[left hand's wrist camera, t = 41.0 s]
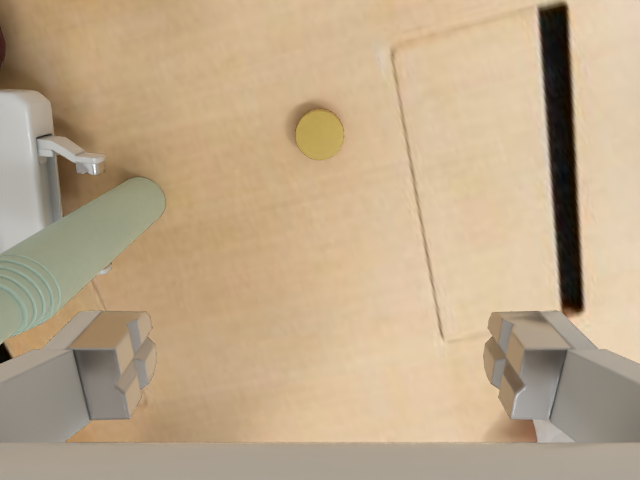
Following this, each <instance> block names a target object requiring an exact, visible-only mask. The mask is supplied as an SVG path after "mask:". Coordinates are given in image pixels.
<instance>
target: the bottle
mask: <svg viewBox="0 0 640 480" xmlns="http://www.w3.org/2000/svg"><path fill="white" fill-rule="evenodd" d="M165 205H166V201H165V196H164V194H163V192H162V190H161V188H160V187H159V186H158V185H157V184H156V183H154V182H153V181H151V180H149V179H147V178H143V177H134V178H131V179H128V180H127V181H125V182H123V183H121V184H120V185H118V186H116V187H115V188H113V189H111V190H109V191H108V192H106V193H104V194H102V195H101V196H99V197H97V198H96V199H94V200H92V201H90V202H89V203H87V204H85V205H84V206H82V207H80V208H78V209H77V210H75V211H73V212H71V213H70V214H68V215H66V216H65V217H63V218H61V219H59V220H58V221H56V222H54V223H53V224H51V225H49V226H47V227H46V228H44V229H42V230H40V231H39V232H37V233H35V234H34V235H32V236H30V237H28V238H27V239H25V240H23V241H22V242H20V243H18V244H16V245H15V246H13V247H11V248H9V249H8V250H6V251H4V252H3V253H1V254H0V344H2V343H3V342H4V341H5V340H6V339H7V338H9V337H13V336H15V335H17V334H19V333H22V332H24V331H26V330H28V329H31V328H33V327H35V326H38V325H40V324H42V323H43V322H45V321H46V320H47V319H49V318H51V317H52V316H53V315H54V314H56V313H57V312H58V311H59V310H60V309H61V308H62V307H63V306H64V305H65V304H66V303H67V302H68V301H70V300H71V299H72V298H73V297H74V296H75V295H76V294H77V293H78V292H79V291H80V290H81V289H83V288H84V287H85V286H86V285H87V284H88V283H89V282H90V281H91V280H92V279H93V278H94V277H95V276H97V275H98V274H99V273H100V272H101V271H102V270H103V269H104V268H105V267H106V266H107V265H108V264H109V263H111V262H112V261H113V260H114V259H115V258H116V257H117V256H118V255H119V254H120V253H121V252H122V251H123V250H125V249H126V248H127V247H128V246H129V245H130V244H131V243H132V242H133V241H134V240H135V239H136V238H137V237H139V236H140V235H141V234H142V233H143V232H144V231H145V230H146V229H147V228H148V227H149V226H150V225H152V224H153V223H154V222H155V221H156V220H157V219H158V218H159V217H160V216H161V215H162V214H163V212H164V210H165Z"/></svg>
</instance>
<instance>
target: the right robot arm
mask: <svg viewBox="0 0 640 480" xmlns="http://www.w3.org/2000/svg"><path fill="white" fill-rule="evenodd" d="M59 154H60V155H62V156H63V157H65V158H67V159H68V160H70V161H72V162H73V163H76V171H77V173H82V174H85V173H89V174H90V175H99V174H101V173H102V172H105V155H103V154H97V153H89V152H85V150H84V149H82V148H81V147H79V146H78V145H76V144H75V143H73V142H72V141H71V140H69V139H68V138H66V137H62V136H54V127H53V117H52V107H51V103H50V101H49V100H48V99H47V98H46V97H45V96H43V95H42V94H41V93H40V92H38V91H34V90H23V89H0V254H1V253H3V252H4V251H6V250H8V249H9V248H11V247H13V246H15V245H16V244H18V243H20V242H22V241H23V240H25V239H27V238H28V237H30V236H32V235H34V234H35V233H37V232H39V231H40V230H42V229H44V228H46V227H47V226H49V225H51V224H53V223H54V222H56V221H58V220H59V219H61V218H63V213H62V203H61V194H60V184H59V174H58V165H57V155H59ZM111 269H112V265H111V263H109V264H108V265H107V266H106V267H105V268H104V269H103V270H102V271H101V272H100V273H99V274H98V275H103V274H107V273H108V272H109V271H110V270H111Z"/></svg>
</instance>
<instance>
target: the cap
mask: <svg viewBox="0 0 640 480" xmlns="http://www.w3.org/2000/svg"><path fill="white" fill-rule="evenodd" d="M342 126H343V125H342V123H341V122H340V119H338V118H337V116H336V114H335V115H334V114H333V113H332V112H331V111H328V110H326V109H314V110H311V111H309V112H307V113H306V114H304V116H303V117H302V118H300V121H299V123H298V124H297V128H296V130H295V131H296V133H295V137H296V143H297V145H298V148H299V149H300V151H301V152H302V153H303V154H304V155H306V156H307V157H309V158H311V159H314V160H325V159H328V158H330V157H332V156H334V155H335V154H336V153H337V152H338V151H339V149H340V148H341V146H342V143H343V139H344V130H343V128H342Z"/></svg>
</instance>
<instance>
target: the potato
mask: <svg viewBox="0 0 640 480" xmlns="http://www.w3.org/2000/svg"><path fill="white" fill-rule="evenodd" d="M4 57H5V41H4V38H3V34H2V31H1V28H0V66H1V64H2V62H3V59H4Z"/></svg>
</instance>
